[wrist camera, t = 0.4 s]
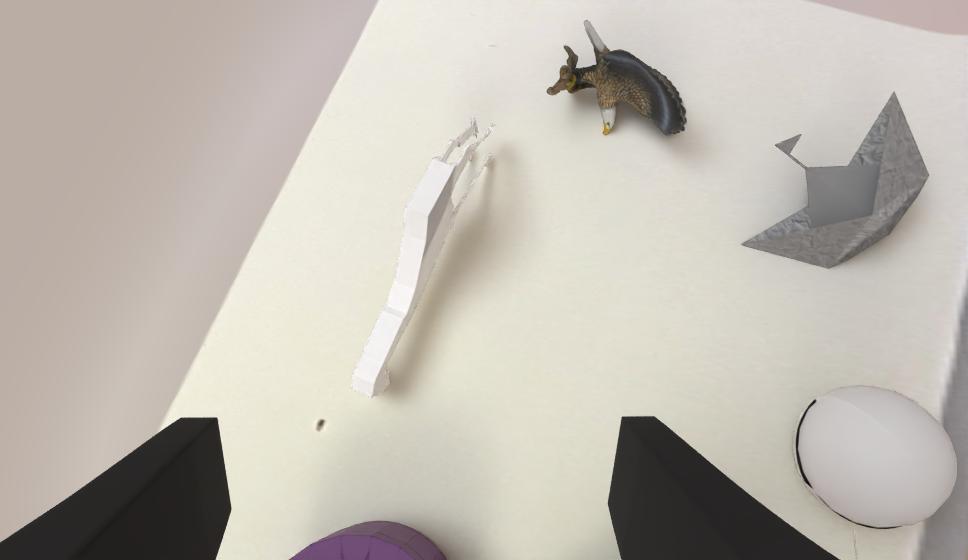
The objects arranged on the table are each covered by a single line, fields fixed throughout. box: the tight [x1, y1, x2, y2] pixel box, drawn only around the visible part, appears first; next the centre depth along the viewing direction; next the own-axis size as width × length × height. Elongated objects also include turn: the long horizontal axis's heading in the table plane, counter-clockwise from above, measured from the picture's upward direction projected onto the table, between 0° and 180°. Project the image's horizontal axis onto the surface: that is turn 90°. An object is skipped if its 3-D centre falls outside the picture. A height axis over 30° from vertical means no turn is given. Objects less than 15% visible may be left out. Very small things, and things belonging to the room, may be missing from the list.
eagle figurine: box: [547, 20, 687, 136], centre depth 39 cm, size 8×7×9 cm
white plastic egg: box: [792, 385, 957, 560], centre depth 30 cm, size 10×7×7 cm
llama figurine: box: [351, 117, 495, 398], centre depth 37 cm, size 2×11×18 cm
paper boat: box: [741, 92, 929, 268], centre depth 36 cm, size 12×6×9 cm
